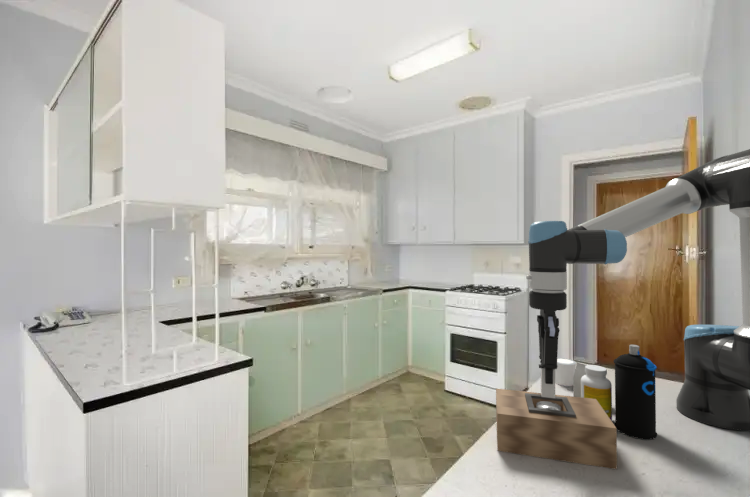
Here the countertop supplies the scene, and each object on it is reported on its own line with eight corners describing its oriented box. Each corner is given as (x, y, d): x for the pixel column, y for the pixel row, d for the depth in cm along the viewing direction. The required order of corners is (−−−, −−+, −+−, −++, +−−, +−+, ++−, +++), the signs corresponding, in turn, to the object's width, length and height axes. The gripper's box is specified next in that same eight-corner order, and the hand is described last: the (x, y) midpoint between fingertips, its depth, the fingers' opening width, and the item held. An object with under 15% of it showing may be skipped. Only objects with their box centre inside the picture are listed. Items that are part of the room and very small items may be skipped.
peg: (559, 437, 81) (559, 402, 81) (563, 449, 76) (563, 412, 76) (535, 434, 82) (535, 399, 82) (538, 445, 78) (537, 409, 78)
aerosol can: (611, 431, 83) (610, 346, 83) (617, 418, 90) (616, 339, 89) (655, 444, 78) (654, 353, 78) (659, 429, 84) (658, 345, 84)
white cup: (581, 386, 110) (580, 364, 110) (559, 387, 110) (558, 364, 110) (568, 378, 117) (568, 357, 117) (547, 378, 117) (547, 357, 117)
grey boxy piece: (598, 407, 96) (597, 370, 96) (573, 398, 102) (573, 363, 102) (605, 404, 98) (605, 367, 98) (580, 395, 104) (580, 361, 104)
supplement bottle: (617, 426, 86) (616, 373, 86) (586, 424, 87) (586, 371, 87) (605, 413, 92) (604, 364, 92) (577, 411, 94) (576, 362, 94)
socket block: (596, 433, 83) (595, 396, 83) (616, 469, 69) (616, 425, 69) (496, 420, 89) (496, 386, 89) (497, 450, 76) (497, 410, 76)
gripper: (526, 286, 87) (526, 383, 87) (532, 293, 74) (533, 406, 74) (560, 287, 84) (561, 387, 84) (572, 294, 72) (573, 411, 72)
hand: (548, 396), depth 79 cm, fingers closed
